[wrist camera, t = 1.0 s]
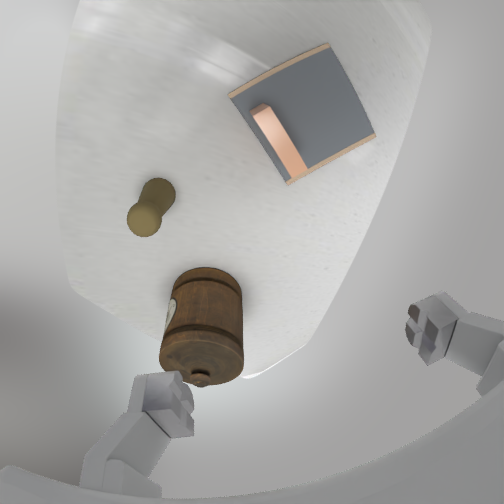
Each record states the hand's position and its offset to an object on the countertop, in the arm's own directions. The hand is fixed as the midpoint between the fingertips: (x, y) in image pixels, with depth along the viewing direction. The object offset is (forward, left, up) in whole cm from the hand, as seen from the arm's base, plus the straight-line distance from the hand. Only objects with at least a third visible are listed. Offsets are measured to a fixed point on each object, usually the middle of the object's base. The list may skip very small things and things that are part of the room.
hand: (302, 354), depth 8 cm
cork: (+18, 0, -39) cm, 43 cm away
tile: (-4, +2, -38) cm, 38 cm away
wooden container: (+25, +23, -39) cm, 52 cm away
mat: (-10, +2, -39) cm, 40 cm away
